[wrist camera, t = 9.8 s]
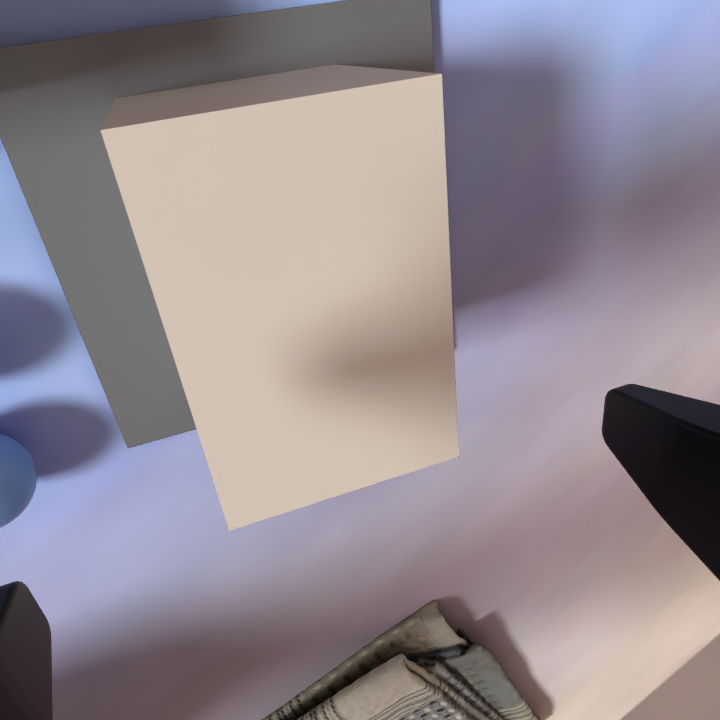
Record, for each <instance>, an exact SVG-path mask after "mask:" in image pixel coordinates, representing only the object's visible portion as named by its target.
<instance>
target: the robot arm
mask: <svg viewBox="0 0 720 720" xmlns="http://www.w3.org/2000/svg"><path fill="white" fill-rule="evenodd" d="M602 435H603V438H604V441H605V443H606V444H607V446H608V447H609V449H610V450H611V451H612V453H613V454H614V455H615V457H616V458H617V459H618V461H619V462H620V463H621V465H622V466H623V467H624V469H625V470H626V471H627V473H628V474H629V475H630V477H631V478H632V479H633V481H634V482H635V483H636V484H637V486H638V487H639V488H640V490H641V491H642V492H643V494H644V495H645V496H646V498H647V499H648V500H649V502H650V503H651V504H652V506H653V507H654V508H655V509H656V511H657V512H658V513H659V514H660V516H661V517H662V518H663V519H664V520H665V521H666V523H667V524H668V525H669V526H670V527H671V528H672V529H673V531H674V532H675V533H676V534H677V535H678V536H679V537H680V538H681V539H682V540H683V541H684V542H685V544H686V545H687V546H688V547H689V548H690V549H691V550H692V551H693V552H694V553H695V554H696V556H697V557H698V558H699V559H700V560H701V561H702V562H703V563H704V564H705V565H706V566H707V567H708V569H709V570H710V571H711V572H712V573H713V574H714V575H715V576H716V577H717V578H718V579H719V581H720V405H718V404H714V403H710V402H706V401H701V400H697V399H693V398H689V397H685V396H681V395H677V394H673V393H669V392H665V391H661V390H657V389H652V388H648V387H644V386H640V385H636V384H627V385H624V386H621V387H617V388H614V389H612V390H610V391H609V392H608V393H607V395H606V397H605V404H604V414H603V423H602ZM0 720H52V655H51V631H50V626H49V623H48V620H47V618H46V617H45V615H44V613H43V612H42V610H41V608H40V607H39V605H38V603H37V602H36V600H35V599H34V597H33V595H32V594H31V592H30V590H29V589H28V587H27V586H26V585H25V584H24V583H23V582H19V581H16V582H12V583H9V584H6V585H3V586H0Z"/></svg>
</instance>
